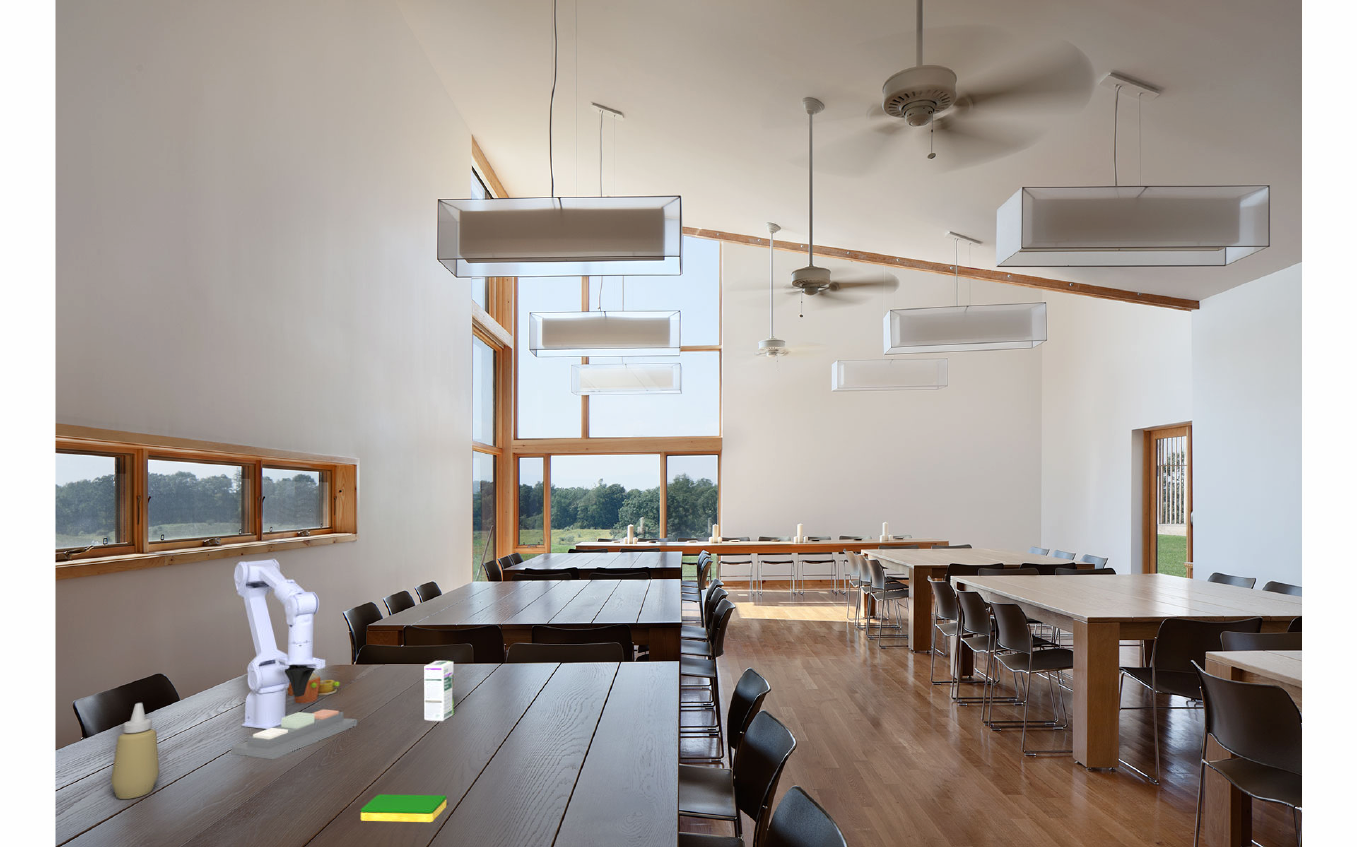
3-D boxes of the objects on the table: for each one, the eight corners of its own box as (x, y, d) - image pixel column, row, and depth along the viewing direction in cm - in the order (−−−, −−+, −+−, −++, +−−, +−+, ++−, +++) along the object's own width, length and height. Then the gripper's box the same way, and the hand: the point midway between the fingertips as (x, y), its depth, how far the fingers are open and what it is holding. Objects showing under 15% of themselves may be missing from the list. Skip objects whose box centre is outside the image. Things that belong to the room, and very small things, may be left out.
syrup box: (443, 721, 198) (444, 665, 200) (423, 720, 200) (423, 664, 201) (454, 715, 204) (454, 660, 205) (434, 714, 205) (434, 659, 206)
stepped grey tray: (231, 753, 176) (231, 737, 176) (318, 720, 201) (318, 707, 201) (273, 759, 172) (273, 743, 172) (357, 725, 196) (357, 711, 196)
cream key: (252, 745, 177) (253, 734, 177) (271, 738, 182) (271, 727, 182) (269, 747, 175) (269, 736, 176) (287, 740, 180) (288, 729, 181)
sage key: (281, 728, 185) (281, 717, 185) (298, 722, 190) (298, 711, 190) (297, 730, 183) (297, 719, 183) (314, 723, 188) (314, 713, 188)
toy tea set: (344, 690, 232) (345, 659, 233) (319, 705, 217) (320, 670, 218) (261, 691, 233) (262, 659, 234) (230, 705, 217) (231, 671, 218)
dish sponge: (431, 824, 138) (432, 810, 138) (359, 822, 139) (359, 809, 139) (447, 807, 145) (447, 794, 145) (378, 806, 146) (378, 793, 146)
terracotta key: (307, 724, 192) (307, 714, 192) (322, 718, 197) (323, 709, 197) (322, 726, 190) (323, 716, 191) (338, 720, 195) (338, 710, 196)
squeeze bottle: (126, 787, 156) (130, 698, 158) (167, 785, 157) (171, 697, 159) (99, 803, 148) (104, 709, 150) (143, 801, 149) (147, 708, 151)
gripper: (266, 642, 191) (264, 697, 189) (310, 645, 186) (308, 702, 185) (288, 637, 197) (287, 690, 196) (332, 640, 192) (330, 694, 191)
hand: (299, 695), depth 191 cm, fingers closed
